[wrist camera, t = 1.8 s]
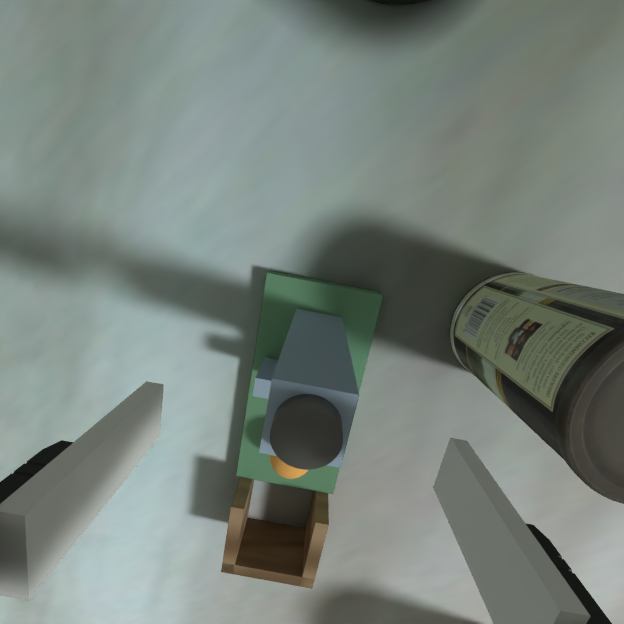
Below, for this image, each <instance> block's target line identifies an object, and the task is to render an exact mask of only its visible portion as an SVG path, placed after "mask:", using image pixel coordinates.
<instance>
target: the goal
mask: <svg viewBox="0 0 624 624" xmlns="http://www.w3.org/2000/svg"><path fill="white" fill-rule="evenodd" d="M253 482H254V479H249V478H243V477H241V478H240V481H239V484H238V487H237V490H236V493H235V496H234V499H233V502H232V505H231V510H230V516H229V523H228V530H227V536H226V543H225V550H224V556H223V563H222V569H221V572H225V573H230V574H236V575H241V576H247V577H252V578H258V579H263V580H269V581H274V582H280V583H285V584H291V585H296V586H302V587H307V588H312V587H313V583H314V580H315V576H316V572H317V568H318V564H319V560H320V556H321V552H322V549H323V545H324V541H325V537H326V533H327V529H328V525H329V519H328V493H324V492H319V491H314V494H313V498H312V502H311V507H310V511H309V515H308V520H307V524H306V528H305V529H303V528H298V527H292V526H287V525H282V524H276V523H271V522H265V521H260V520H254V519H249V518H247V517H248V511H249V505H250V499H251V493H252V488H253Z"/></svg>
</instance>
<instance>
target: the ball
mask: <svg viewBox="0 0 624 624" xmlns="http://www.w3.org/2000/svg"><path fill="white" fill-rule="evenodd" d="M270 462H271V465H272V467H273V469H274V470H275V472H276V473H277V474H279V475H280V476H282V477H284V478H287V479H295V478H298V477H301V476H302V475H304V474H305V473H306V472H307V471H308V470H304V469H298V468H294V467H291V466H289V465H287V464H286V463H284V462H283V461H282V460H280V459H279V458H278V457H277V456H274V455H270Z"/></svg>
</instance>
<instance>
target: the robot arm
mask: <svg viewBox="0 0 624 624" xmlns="http://www.w3.org/2000/svg"><path fill="white" fill-rule="evenodd" d="M373 1H376V2H380V3H386V4H396V5H401V4H413V3H418V2H422V1H426V0H373ZM162 398H163V384H158V383H152V382H147V381H146V382H145V383H144V384H143V385H142V386H141V387H139V388H138V389H137V390H136V391H135V392H133V393H132V394H131V395H130V396H129V397H127V398H126V399H125V400H124V401H123V402H121V403H120V404H119V405H118V406H117V407H115V408H114V409H113V410H112V411H111V412H109V413H108V414H107V415H106V416H105V417H103V418H102V419H101V420H100V421H99V422H98V423H96V424H95V425H94V426H93V427H92V428H90V429H89V430H88V431H87V432H86V433H84V434H83V435H82V436H81V437H80V438H78V439H77V440H76V441H75V442H74V443H73V442H68V441H60V442H57V443H55V444H53V445H51V446H49V447H47V448H45V449H43V450H41V451H40V452H39V453H38V454H36V455H35V456H34V457H32V458H31V459H30V460H28V461H27V463H26V464H23V465H22V466H21V467H19V468H18V469H17V470H15V471H14V473H13V474H10V475H9V476H8V477H6V478H5V479H4V480H2V481H1V482H0V595H2V596H8V597H14V598H19V599H25V600H30V599H31V597H32V596H33V595H34V594H35V592H36V591H37V590H38V589H39V587H40V586H41V585H42V584H43V582H44V581H45V580H46V579H47V577H48V576H49V575H50V574H51V572H52V571H53V570H54V569H55V567H56V566H57V565H58V564H59V562H60V561H61V560H62V559H63V557H64V556H65V555H66V554H67V552H68V551H69V550H70V549H71V547H72V546H73V545H74V544H75V542H76V541H77V540H78V539H79V537H80V536H81V535H82V534H83V532H84V531H85V530H86V529H87V527H88V526H89V525H90V524H91V522H92V521H93V520H94V519H95V517H96V516H97V515H98V514H99V512H100V511H101V510H102V509H103V507H104V506H105V505H106V504H107V502H108V501H109V500H110V499H111V497H112V496H113V495H114V494H115V492H116V491H117V490H118V489H119V487H120V486H121V485H122V484H123V482H124V481H125V480H126V479H127V477H128V476H129V475H130V474H131V472H132V471H133V470H134V469H135V467H136V466H137V465H138V464H139V462H140V461H141V460H142V459H143V457H144V456H145V455H146V454H147V452H148V451H149V450H150V449H151V447H152V446H153V445H154V444H155V442H156V441H157V440H158V439H159V437H160V424H161V411H162ZM433 488H434V490H435V492H436V495H437V497H438V499H439V501H440V504H441V506H442V508H443V510H444V513H445V515H446V517H447V519H448V522H449V524H450V526H451V528H452V531H453V533H454V535H455V537H456V540H457V542H458V544H459V547H460V549H461V551H462V553H463V556H464V558H465V560H466V562H467V565H468V567H469V569H470V571H471V574H472V576H473V578H474V580H475V583H476V585H477V587H478V589H479V592H480V594H481V596H482V598H483V601H484V603H485V605H486V607H487V610H488V612H489V614H490V616H491V619H492V621H493V623H494V624H612V623H611V622H610V621H609V619H608V618H607V617H606V615H605V614H604V613H603V611H602V610H601V609H600V607H599V606H598V604H597V603H596V602H595V600H594V599H593V598H592V596H591V595H590V594H589V592H588V591H587V590H586V588H585V587H584V586H583V584H582V583H581V582H580V580H579V579H578V578H577V576H576V575H575V574H574V573H572V570H571V568H570V567H569V566H568V564H567V563H566V562H565V560H564V559H562V558H561V555H560V554H559V552H558V551H557V550H556V548H555V547H554V546H553V544H552V543H551V542H550V540H549V539H548V538H547V537H546V536H544V535H543V534H542V533H541V532H540V531H539V530H538V529H537V528H536V527H535V526H534V525H531V524H525V522H524V521H523V520H522V518H521V517H520V515H519V514H518V513H517V511H516V510H515V508H514V507H513V505H512V504H511V503H510V501H509V500H508V498H507V497H506V496H505V494H504V493H503V491H502V490H501V488H500V487H499V486H498V484H497V483H496V481H495V480H494V479H493V477H492V476H491V474H490V473H489V471H488V470H487V469H486V467H485V466H484V464H483V463H482V462H481V460H480V459H479V457H478V456H477V455H476V453H475V452H474V450H473V449H472V447H471V446H470V445H469V443H468V442H467V441H465V440H460V439H454V438H450V440H449V443H448V446H447V449H446V452H445V455H444V458H443V461H442V463H441V466H440V469H439V472H438V475H437V478H436V481H435V484H434V487H433Z"/></svg>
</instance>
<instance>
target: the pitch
mask: <svg viewBox="0 0 624 624" xmlns="http://www.w3.org/2000/svg"><path fill="white" fill-rule="evenodd" d="M382 299H383V294H382V293H381V292H377V291H372V290H367V289H362V288H357V287H352V286H346V285H341V284H336V283H331V282H326V281H321V280H315V279H310V278H305V277H300V276H295V275H290V274H284V273H279V272H274V271H269V272H267V275H266V282H265V288H264V295H263V302H262V308H261V315H260V321H259V328H258V335H257V341H256V348H255V355H254V361H253V368H252V374H251V381H250V388H249V394H248V401H247V407H246V414H245V421H244V427H243V434H242V441H241V447H240V454H239V460H238V467H237V474H236V476H238V477H243V478H249V479H254V480H259V481H265V482H270V483H276V484H281V485H286V486H292V487H297V488H302V489H308V490H313V491H319V492H324V493H329V494H333V492H334V488H335V484H336V480H337V476H338V472H339V468H338V467H333V466H327V465H326V466H323V467H321V468H317V469H311V470H308V471H307V472H306V473H305V474H304V475H302V476H301V477H298V478H295V479H287V478H284V477H282V476H280V475H279V474H277V473H276V472H275V470H274V469H273V467H272V465H271V462H270V455H269V454H263V453H259V451H260V445H261V439H262V433H263V427H264V421H265V415H266V409H267V404H268V399H265V398H260V397H255V396H253V390H254V384H255V378H256V376H257V373H258V371H259V369H260V367H261V365H262V363H263V361H264V358H265V357H266V358H271V359H276V360H279V357H280V354H281V351H282V348H283V345H284V343H285V340H286V337H287V334H288V331H289V328H290V326H291V323H292V320H293V317H294V314H295V312H296V309H302V310H307V311H312V312H317V313H322V314H328V315H333V316H338V317H342V318H343V322H344V327H345V332H346V336H347V341H348V346H349V350H350V355H351V359H352V364H353V369H354V373H355V378H356V383H357V387H358V392H359V389H360V386H361V382H362V378H363V374H364V370H365V366H366V362H367V358H368V354H369V350H370V346H371V342H372V338H373V334H374V330H375V326H376V323H377V319H378V315H379V311H380V307H381V303H382Z"/></svg>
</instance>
